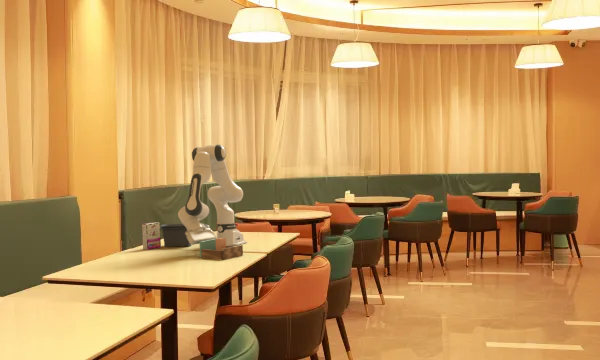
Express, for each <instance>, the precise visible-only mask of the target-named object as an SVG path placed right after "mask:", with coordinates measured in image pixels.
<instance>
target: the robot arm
mask: <svg viewBox="0 0 600 360" xmlns="http://www.w3.org/2000/svg"><path fill="white" fill-rule="evenodd" d="M226 157H227V151H226V147H224V146H223V145H222V144H209V145H207V144H206V145H204V146H197V147H194V148H193V149H192V151H191V158H192V159H191V160H192V161H193V165H192V176H191V180H190V184H189V192H188V197H187V201H185V202H186V203H185V205H184V206H183V207H181V208H180V209H179V210H178V213H177V216H178V218H179V221H180V222H181V224H183V225H184V226H185V227H186V229H187V231H186V232H185V235H186V237H187V239H188V241H189V243H190V244H192V245H193V246H194V245H200V243H199V242H200V241H206V240H212V239H216V238H226V246H239V245H240V244H241V245H244V244H247V243H248V241H247V240H245V239H244V235H243V233H242V232H241V231H240V230H239V229H237V227H239V225H240V224H239V223H237V222H236V223H235V211H234V210H233V209H232V208H231V207H230V206H229V203H231V204H233V203H239V202H241V201H242V199H243V197H244V191H243V189H242V188H241V186H238V184H236V183H235V182H234V180H233V179H232V178H231V176H230V173H229V170H228V166H227V162H226V160H225V158H226ZM211 178H212V181H213V182H215V183H216V184H218V185H216V186H214V185H213V186H211V187H210V188H209V189H208V190H207V197H208V200H210V202H211V203H212V204H213V205H214V208H215V209H216V210H215V211H216V216H217V223H216V229H217V231H216V234H215V232H214V231H213V230H212V229H211V228H210V225H208V224H206V223H202V222H201V221H203V220H204V219H206V218H207V217H208V216H209V214H210V208H209V206H208V205H207V204H205V203H204V202H202V201H201V199H200V198H201V197H200V195H201V189H202V185H203V184H206V183H208V182H209V181H210V179H211ZM192 245H191V246H192Z"/></svg>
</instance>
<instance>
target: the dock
mask: <svg viewBox="0 0 600 360" xmlns="http://www.w3.org/2000/svg"><path fill="white" fill-rule="evenodd" d="M243 245H244V244H241V245H234V246H226V248H224V249H221V250H210V249H201V257H200V258H202V259H209V260H210V259H211V260H221V261H223V260H229V259H232V258H233V257H234V258H237V257H242V255H243V256H244V253H243V252H244V249H243V248H244V247H243Z"/></svg>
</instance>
